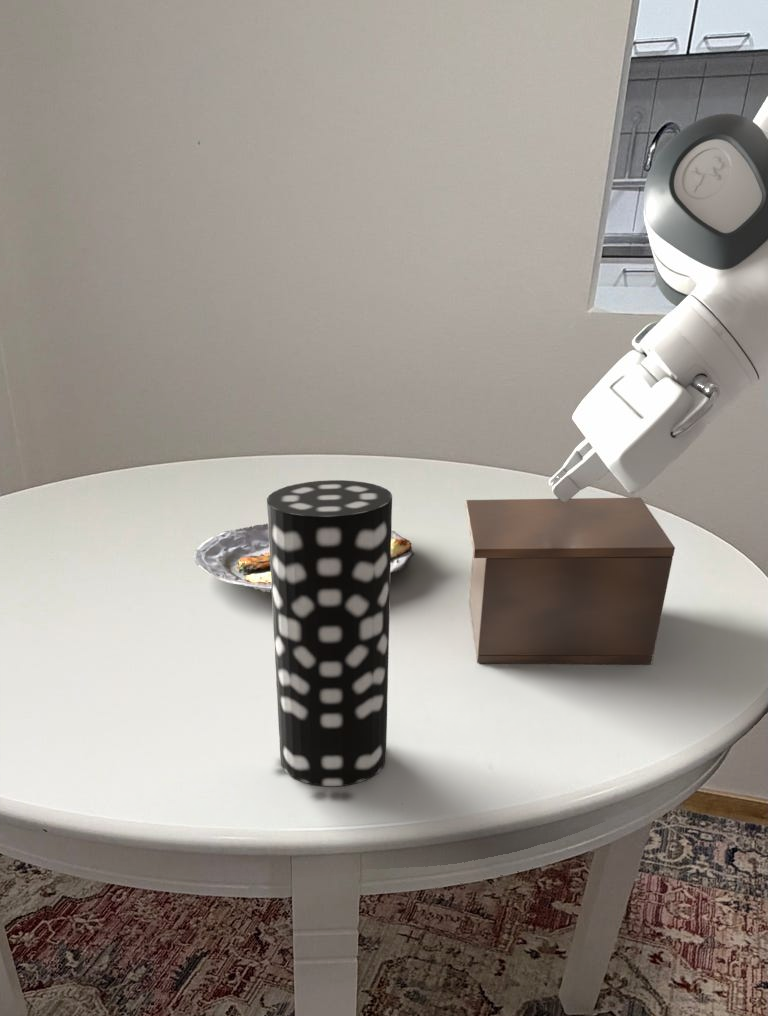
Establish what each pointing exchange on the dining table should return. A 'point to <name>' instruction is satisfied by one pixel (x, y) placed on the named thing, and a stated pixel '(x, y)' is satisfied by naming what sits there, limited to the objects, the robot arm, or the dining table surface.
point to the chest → (567, 609)
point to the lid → (565, 528)
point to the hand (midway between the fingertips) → (555, 493)
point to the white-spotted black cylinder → (331, 627)
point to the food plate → (263, 556)
